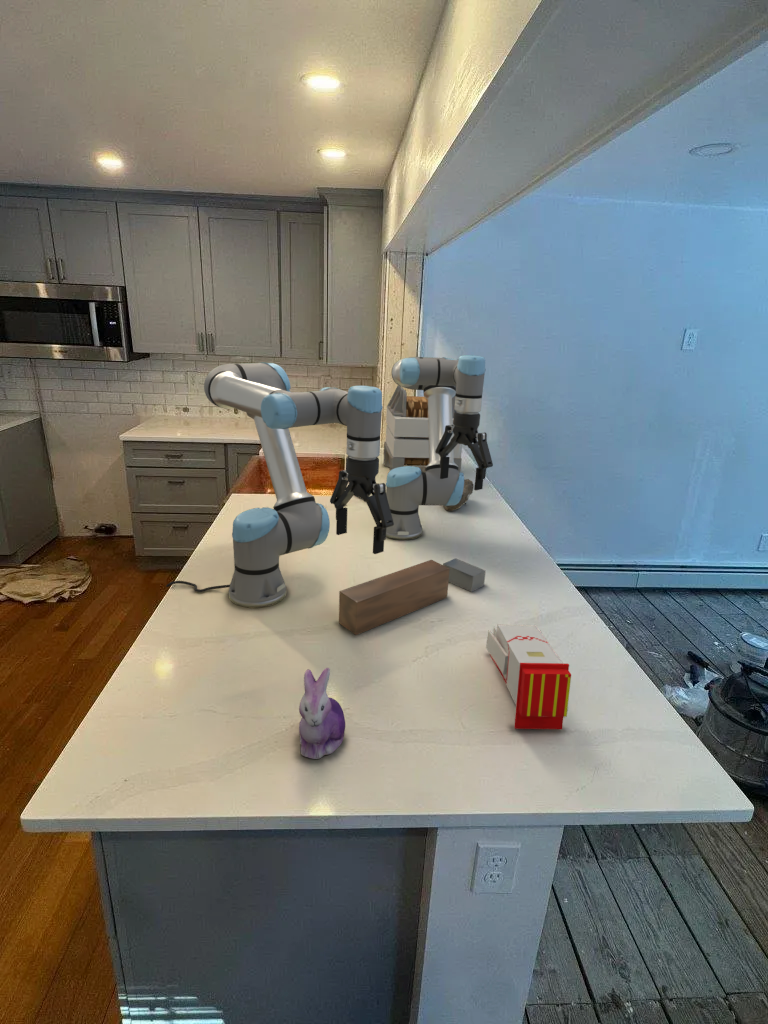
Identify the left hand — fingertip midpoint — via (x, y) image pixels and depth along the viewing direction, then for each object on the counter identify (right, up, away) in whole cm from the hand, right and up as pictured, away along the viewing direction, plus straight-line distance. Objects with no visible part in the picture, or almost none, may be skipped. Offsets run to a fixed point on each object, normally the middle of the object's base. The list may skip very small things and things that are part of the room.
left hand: (359, 542), depth 135 cm
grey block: (+29, -13, +31) cm, 44 cm away
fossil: (+36, +11, +98) cm, 105 cm away
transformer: (+23, +26, +140) cm, 144 cm away
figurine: (-5, -35, -32) cm, 48 cm away
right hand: (+29, +16, +33) cm, 46 cm away
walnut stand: (+9, -18, +14) cm, 25 cm away
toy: (+35, -30, -14) cm, 48 cm away
